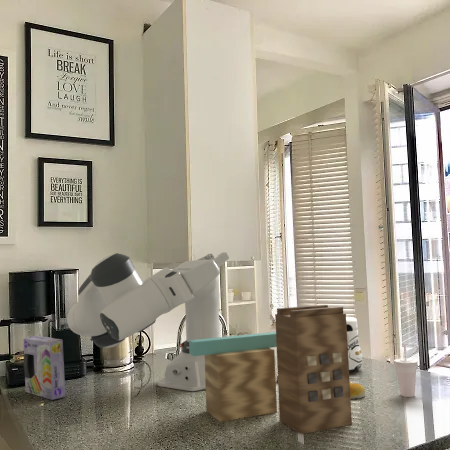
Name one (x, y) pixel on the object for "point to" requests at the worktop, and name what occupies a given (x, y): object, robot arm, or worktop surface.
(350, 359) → the milk container
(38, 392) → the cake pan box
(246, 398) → the oak block
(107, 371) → the worktop surface
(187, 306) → the robot arm
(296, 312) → the button stand
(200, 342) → the long teal plank
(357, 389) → the bread roll
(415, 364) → the smoothie
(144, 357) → the worktop surface
